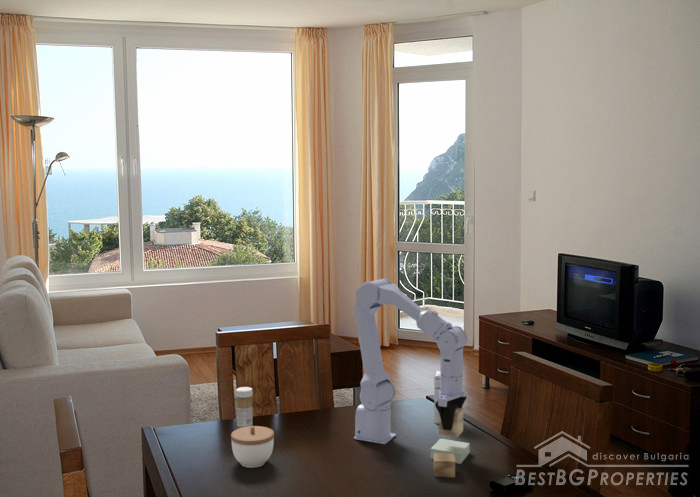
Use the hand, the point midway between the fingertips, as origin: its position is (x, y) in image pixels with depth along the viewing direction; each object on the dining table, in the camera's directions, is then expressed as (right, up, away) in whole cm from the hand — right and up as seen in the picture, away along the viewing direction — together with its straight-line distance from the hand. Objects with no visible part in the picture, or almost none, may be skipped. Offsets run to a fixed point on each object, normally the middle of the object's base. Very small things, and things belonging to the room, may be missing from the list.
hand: (450, 426), depth 178 cm
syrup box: (+2, -6, +27) cm, 28 cm away
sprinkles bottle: (-56, -7, +15) cm, 58 cm away
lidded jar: (-51, -8, -4) cm, 51 cm away
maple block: (0, -2, 0) cm, 2 cm away
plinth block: (0, -8, +1) cm, 8 cm away
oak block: (-3, -9, -10) cm, 14 cm away
